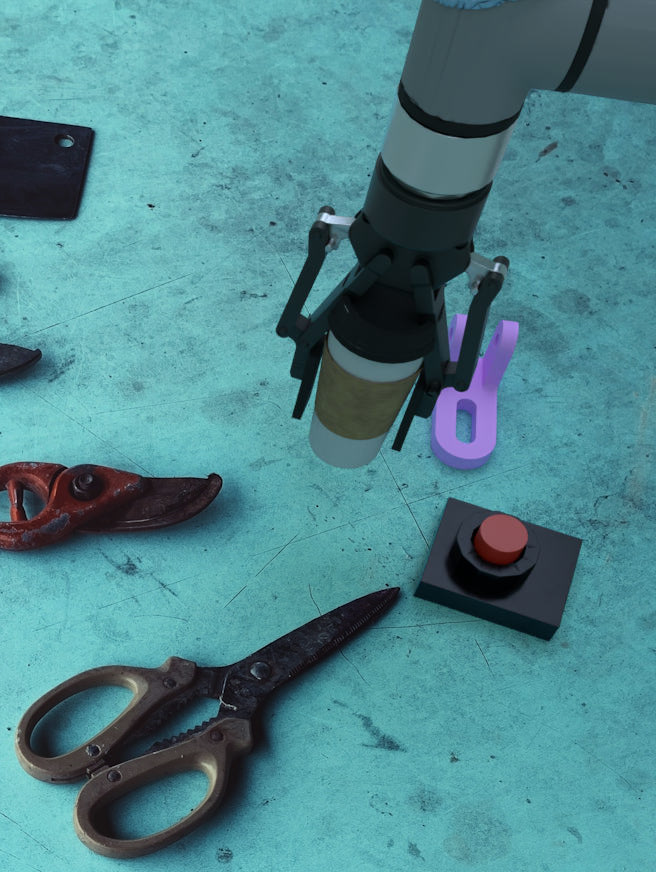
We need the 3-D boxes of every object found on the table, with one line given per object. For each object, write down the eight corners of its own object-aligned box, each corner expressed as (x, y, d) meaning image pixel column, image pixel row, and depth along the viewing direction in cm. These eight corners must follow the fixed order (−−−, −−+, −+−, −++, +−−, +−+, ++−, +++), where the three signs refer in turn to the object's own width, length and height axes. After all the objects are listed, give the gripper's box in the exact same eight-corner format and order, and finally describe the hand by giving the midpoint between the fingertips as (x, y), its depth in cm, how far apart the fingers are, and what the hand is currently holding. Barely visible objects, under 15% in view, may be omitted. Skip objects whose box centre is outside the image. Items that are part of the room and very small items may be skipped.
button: (525, 536, 102) (532, 523, 101) (514, 571, 101) (522, 558, 99) (479, 521, 103) (486, 508, 101) (468, 556, 101) (475, 542, 100)
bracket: (434, 363, 116) (457, 304, 110) (492, 371, 116) (518, 313, 109) (429, 464, 110) (453, 409, 104) (490, 473, 110) (518, 418, 104)
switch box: (573, 555, 106) (592, 525, 102) (549, 642, 102) (568, 614, 98) (441, 512, 108) (455, 482, 104) (412, 596, 104) (426, 567, 100)
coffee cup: (397, 411, 100) (455, 259, 87) (392, 488, 96) (452, 343, 83) (297, 396, 101) (339, 243, 87) (288, 473, 97) (331, 325, 83)
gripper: (607, 171, 76) (484, 429, 97) (301, 87, 79) (244, 354, 100) (584, 246, 73) (462, 496, 94) (266, 155, 76) (215, 416, 97)
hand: (350, 422), depth 97 cm, fingers closed on coffee cup, 8 cm apart
